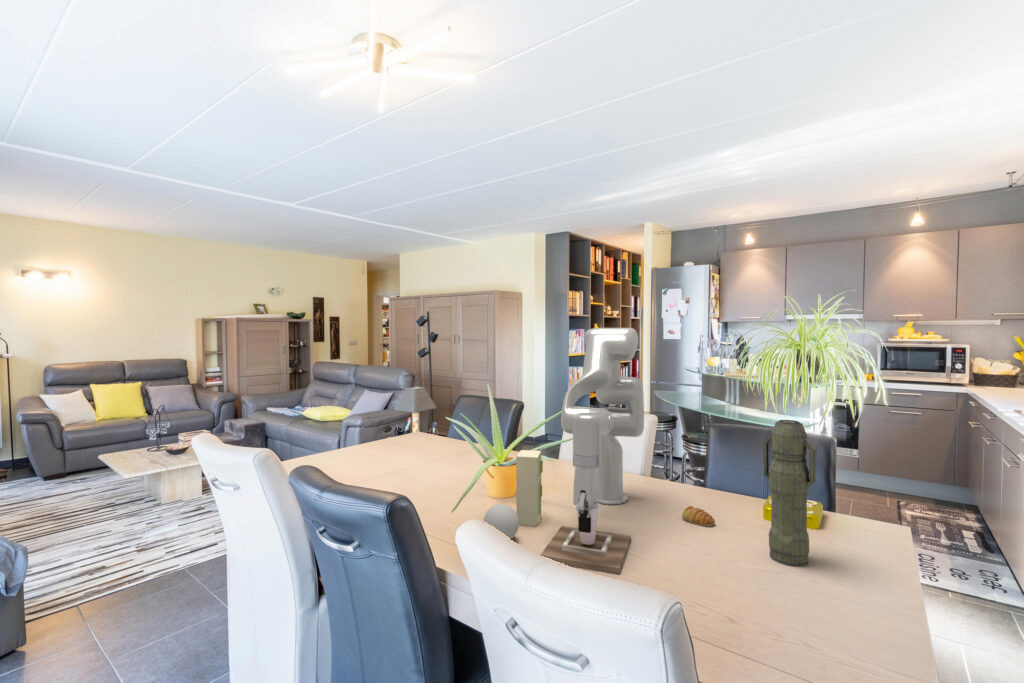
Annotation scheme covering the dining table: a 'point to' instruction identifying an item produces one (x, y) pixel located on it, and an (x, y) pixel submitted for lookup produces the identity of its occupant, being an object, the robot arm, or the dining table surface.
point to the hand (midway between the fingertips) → (587, 526)
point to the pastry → (697, 516)
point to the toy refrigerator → (529, 487)
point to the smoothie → (590, 537)
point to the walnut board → (589, 550)
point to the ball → (503, 519)
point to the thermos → (789, 492)
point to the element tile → (812, 513)
